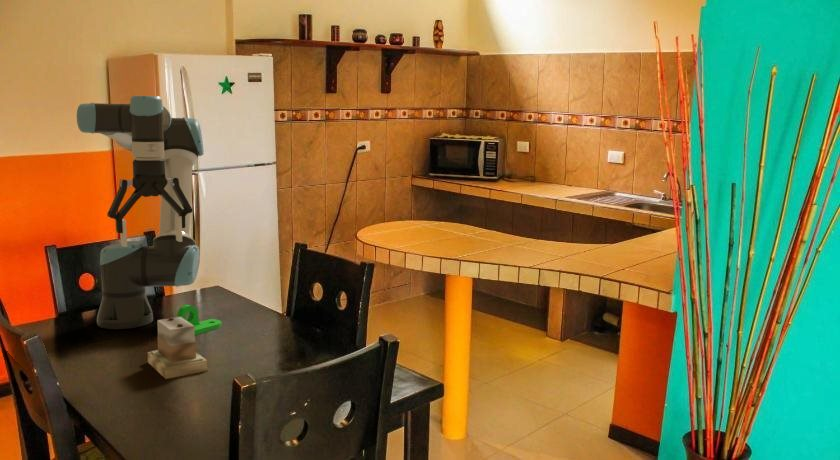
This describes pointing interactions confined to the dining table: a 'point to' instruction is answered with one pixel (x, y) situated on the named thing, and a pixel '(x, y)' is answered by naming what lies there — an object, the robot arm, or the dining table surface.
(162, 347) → the block
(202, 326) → the mechanical part
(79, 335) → the dining table surface
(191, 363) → the stand
